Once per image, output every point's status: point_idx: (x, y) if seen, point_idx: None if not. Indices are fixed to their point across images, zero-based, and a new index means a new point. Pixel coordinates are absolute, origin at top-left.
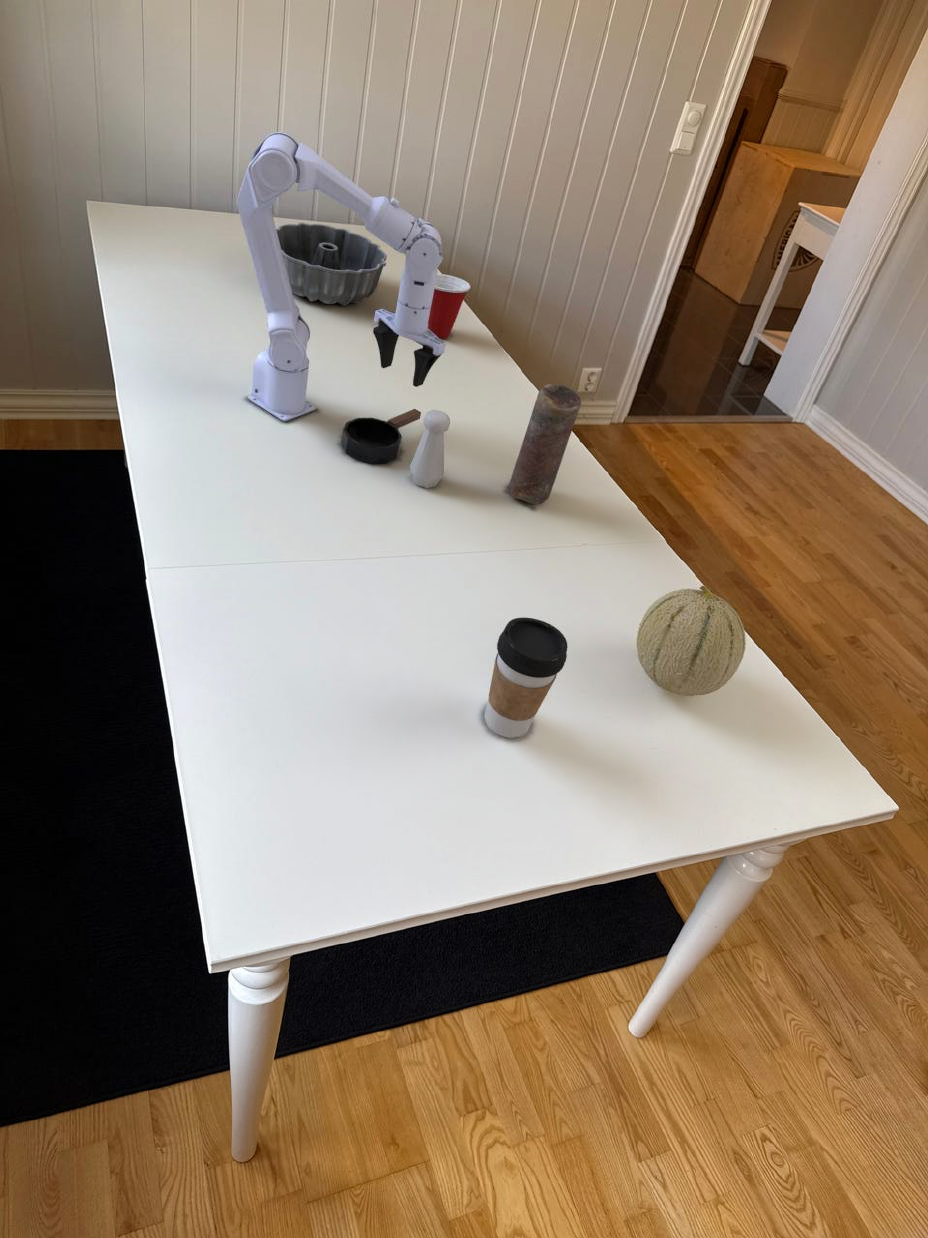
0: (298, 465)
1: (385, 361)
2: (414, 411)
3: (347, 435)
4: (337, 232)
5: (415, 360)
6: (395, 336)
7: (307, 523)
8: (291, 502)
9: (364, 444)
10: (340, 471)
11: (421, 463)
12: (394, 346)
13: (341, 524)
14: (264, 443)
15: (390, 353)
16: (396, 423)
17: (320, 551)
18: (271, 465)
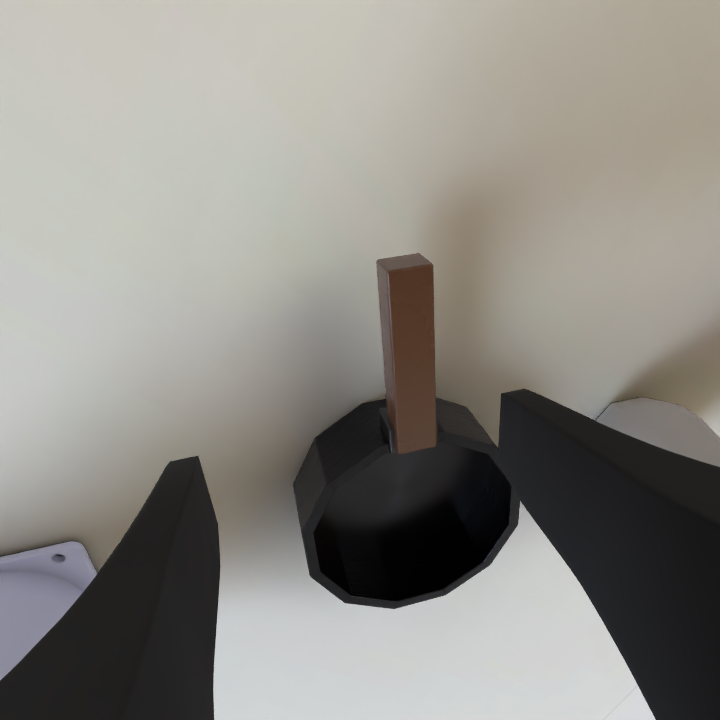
0: (357, 670)
1: (215, 559)
2: (409, 295)
3: (384, 605)
4: None
5: (643, 680)
6: (158, 718)
7: (529, 705)
8: (461, 712)
9: (456, 582)
10: (437, 600)
11: None
12: (172, 582)
13: (575, 660)
14: (224, 708)
15: (192, 565)
16: (435, 435)
17: (596, 707)
18: (324, 715)
